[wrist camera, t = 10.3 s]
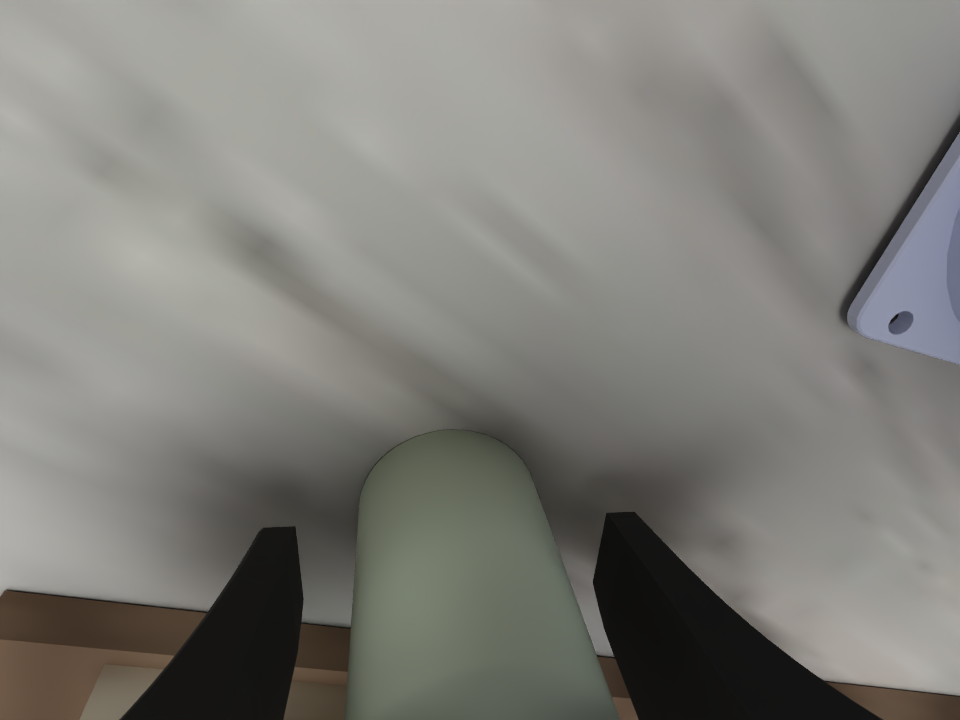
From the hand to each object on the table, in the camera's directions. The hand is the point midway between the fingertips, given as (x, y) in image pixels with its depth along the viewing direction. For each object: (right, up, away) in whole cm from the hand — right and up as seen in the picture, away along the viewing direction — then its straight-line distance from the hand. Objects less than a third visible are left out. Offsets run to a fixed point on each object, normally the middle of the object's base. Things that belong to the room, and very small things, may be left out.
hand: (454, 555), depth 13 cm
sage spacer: (0, +1, +1) cm, 2 cm away
